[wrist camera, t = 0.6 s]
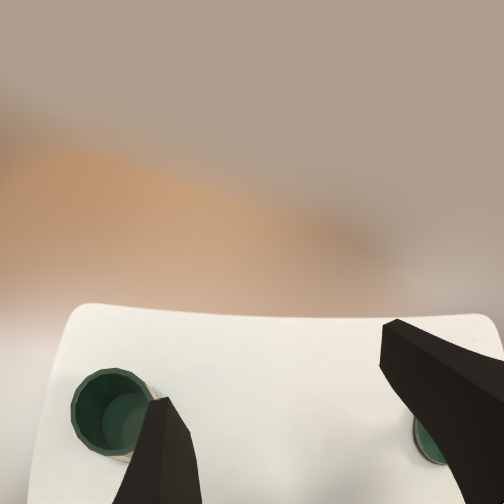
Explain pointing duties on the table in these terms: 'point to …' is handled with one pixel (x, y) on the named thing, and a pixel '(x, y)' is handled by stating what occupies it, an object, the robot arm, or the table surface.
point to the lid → (427, 444)
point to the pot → (111, 412)
